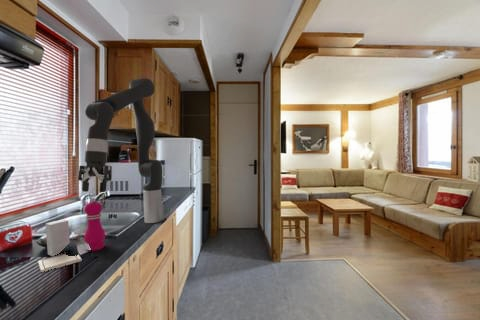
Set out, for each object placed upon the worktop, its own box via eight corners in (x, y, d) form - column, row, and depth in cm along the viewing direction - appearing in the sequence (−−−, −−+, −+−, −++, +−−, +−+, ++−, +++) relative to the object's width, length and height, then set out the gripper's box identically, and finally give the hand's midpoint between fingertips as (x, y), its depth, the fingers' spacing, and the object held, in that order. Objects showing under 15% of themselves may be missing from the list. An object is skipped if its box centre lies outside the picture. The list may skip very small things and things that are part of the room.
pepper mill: (80, 249, 94) (77, 199, 93) (98, 243, 100) (96, 195, 99) (91, 253, 90) (88, 200, 89) (109, 246, 97) (107, 197, 96)
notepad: (75, 252, 91) (75, 250, 91) (81, 260, 84) (81, 258, 84) (38, 262, 83) (38, 260, 83) (41, 272, 76) (41, 270, 76)
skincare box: (65, 248, 95) (63, 218, 95) (70, 250, 93) (68, 220, 92) (46, 254, 90) (45, 223, 89) (52, 256, 88) (50, 224, 87)
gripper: (118, 152, 98) (115, 192, 96) (90, 152, 102) (88, 191, 100) (103, 149, 91) (100, 192, 89) (74, 150, 95) (70, 191, 93)
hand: (93, 191), depth 95 cm, fingers open, 8 cm apart
